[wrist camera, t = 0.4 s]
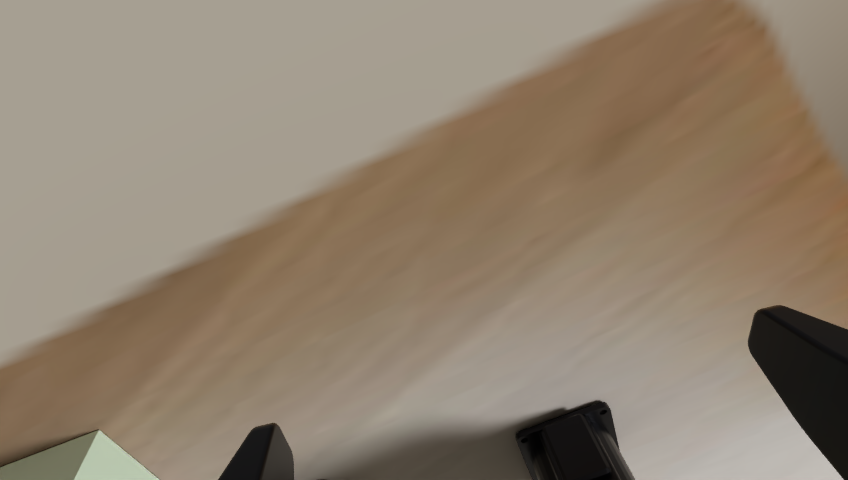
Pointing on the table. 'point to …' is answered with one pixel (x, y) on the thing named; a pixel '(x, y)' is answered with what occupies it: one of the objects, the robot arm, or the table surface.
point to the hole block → (79, 462)
